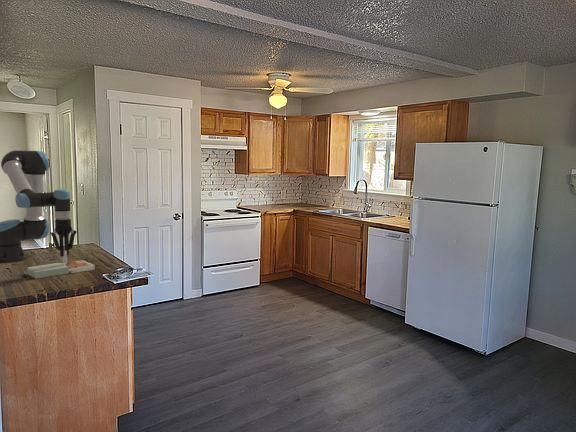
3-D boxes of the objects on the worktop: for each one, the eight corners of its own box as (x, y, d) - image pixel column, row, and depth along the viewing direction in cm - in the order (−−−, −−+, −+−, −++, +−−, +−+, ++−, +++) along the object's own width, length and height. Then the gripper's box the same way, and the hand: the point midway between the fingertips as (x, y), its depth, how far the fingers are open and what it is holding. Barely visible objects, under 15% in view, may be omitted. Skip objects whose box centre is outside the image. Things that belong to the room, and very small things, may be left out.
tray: (59, 268, 240) (59, 263, 240) (82, 264, 249) (82, 260, 249) (71, 273, 229) (70, 269, 229) (94, 269, 239) (94, 265, 238)
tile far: (82, 261, 243) (82, 266, 243) (73, 262, 240) (74, 267, 240) (85, 262, 240) (85, 267, 240) (76, 263, 236) (77, 269, 237)
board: (27, 273, 227) (26, 267, 227) (59, 268, 239) (59, 262, 238) (36, 278, 218) (35, 272, 218) (69, 273, 230) (68, 266, 230)
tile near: (69, 268, 238) (64, 265, 236) (74, 261, 240) (70, 258, 238) (72, 270, 235) (67, 267, 233) (77, 263, 237) (73, 260, 235)
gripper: (52, 220, 224) (54, 265, 227) (78, 218, 233) (80, 261, 236) (47, 218, 229) (49, 262, 232) (72, 217, 238) (74, 259, 241)
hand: (64, 262), depth 234 cm, fingers closed
